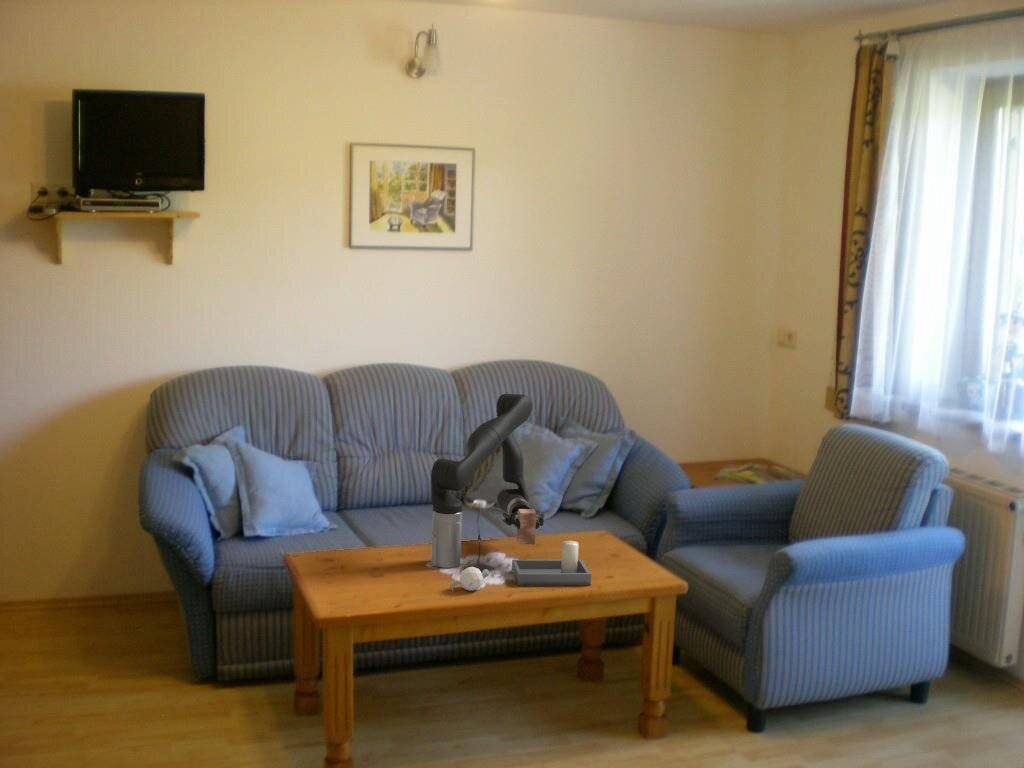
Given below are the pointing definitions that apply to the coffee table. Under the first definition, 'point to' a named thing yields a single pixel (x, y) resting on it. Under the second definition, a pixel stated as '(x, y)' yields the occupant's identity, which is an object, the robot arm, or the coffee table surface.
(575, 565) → the cream cylinder
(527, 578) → the tray
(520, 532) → the coral block
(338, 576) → the coffee table surface
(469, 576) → the alien figurine
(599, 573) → the coffee table surface
